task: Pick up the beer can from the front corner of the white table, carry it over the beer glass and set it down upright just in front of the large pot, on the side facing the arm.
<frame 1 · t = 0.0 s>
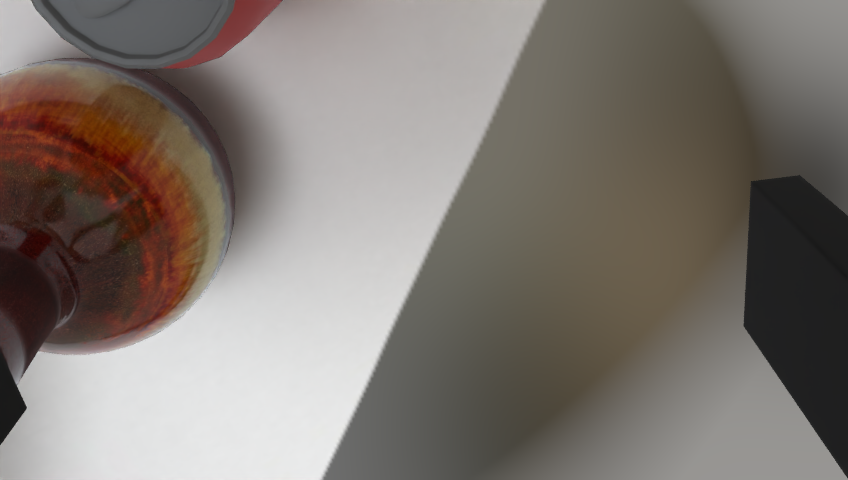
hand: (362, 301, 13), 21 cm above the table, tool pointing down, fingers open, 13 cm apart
vase: (129, 162, 34), on the table
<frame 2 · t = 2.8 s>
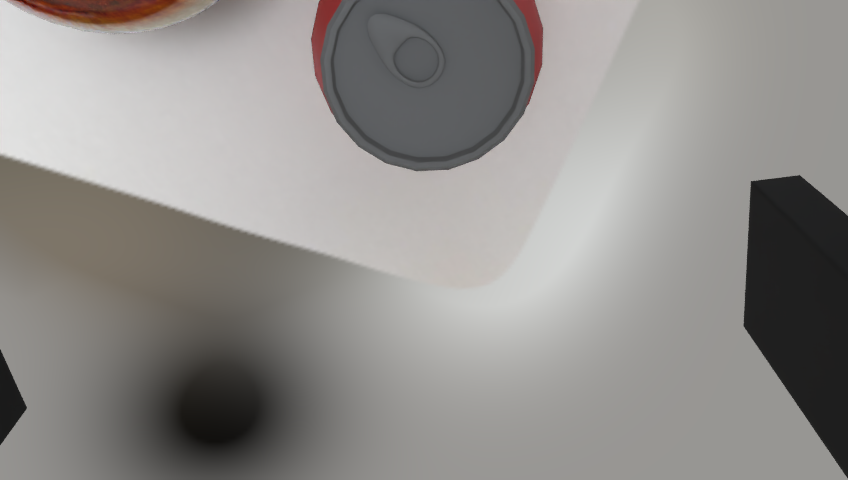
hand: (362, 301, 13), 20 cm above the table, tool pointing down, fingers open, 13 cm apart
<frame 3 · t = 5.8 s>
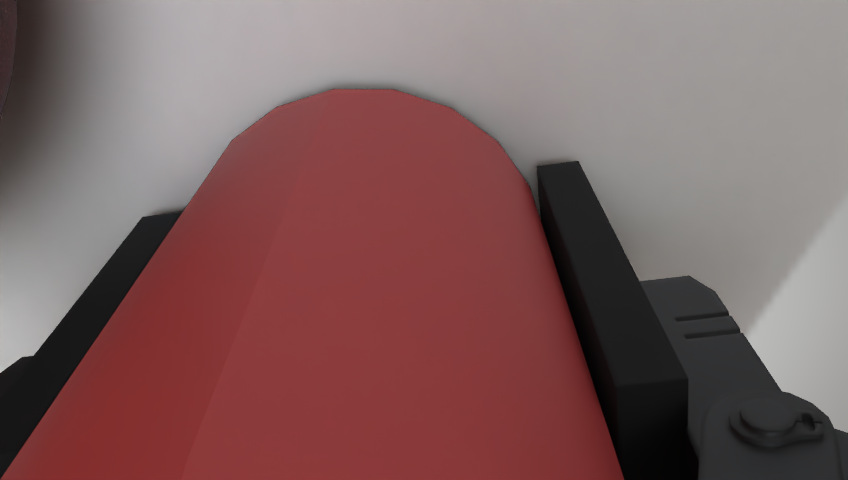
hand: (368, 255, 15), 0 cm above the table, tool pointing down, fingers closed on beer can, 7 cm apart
beer can: (371, 239, 15), on the table, touching gripper
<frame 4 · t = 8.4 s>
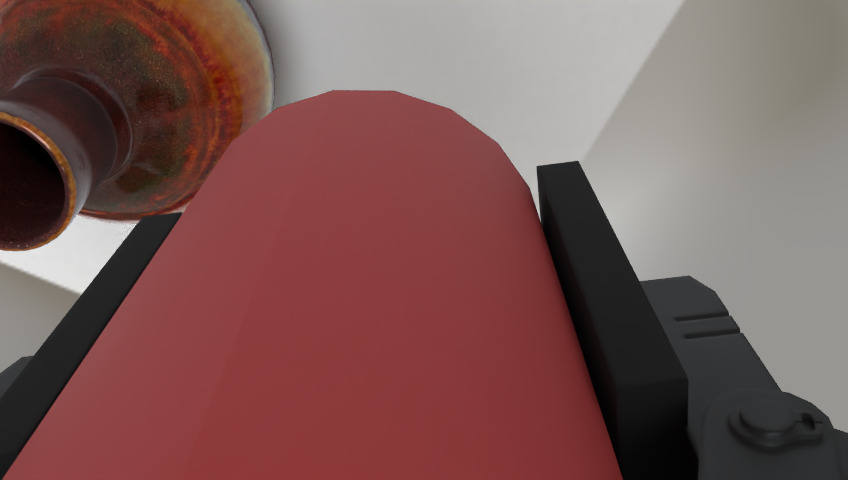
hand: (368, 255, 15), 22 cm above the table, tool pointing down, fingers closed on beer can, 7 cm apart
vase: (166, 53, 35), on the table
beer can: (371, 240, 15), point 21 cm above the table, touching gripper
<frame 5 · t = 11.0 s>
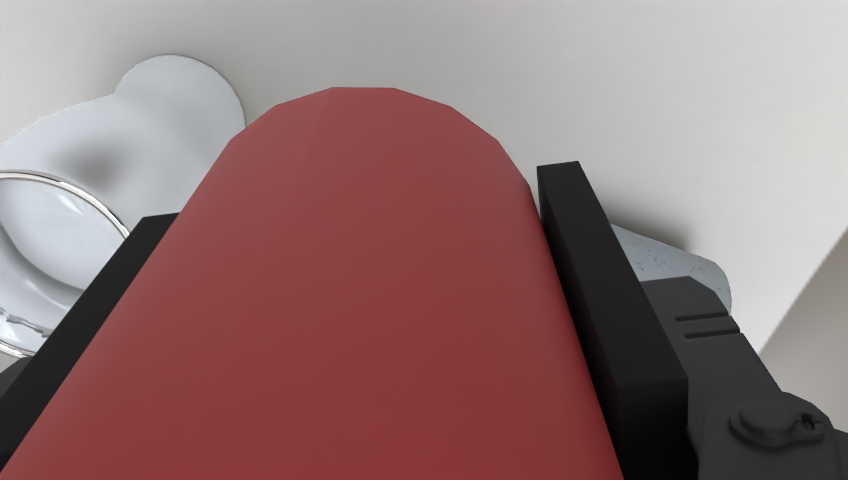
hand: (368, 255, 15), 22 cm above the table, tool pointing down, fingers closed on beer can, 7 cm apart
ceramic mug: (587, 291, 40), on the table
beer glass: (181, 118, 36), on the table
beer can: (370, 238, 15), point 21 cm above the table, touching gripper
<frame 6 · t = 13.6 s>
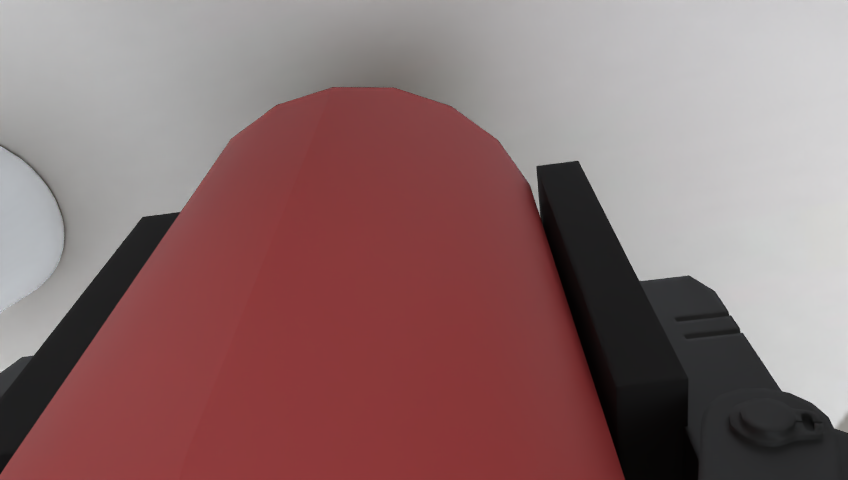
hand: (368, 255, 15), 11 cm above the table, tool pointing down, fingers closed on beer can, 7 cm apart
beer can: (370, 238, 15), point 10 cm above the table, touching gripper
when the fingers open (0 cm above the table, at t = 16.2 s): beer can stays where it is, on the table.
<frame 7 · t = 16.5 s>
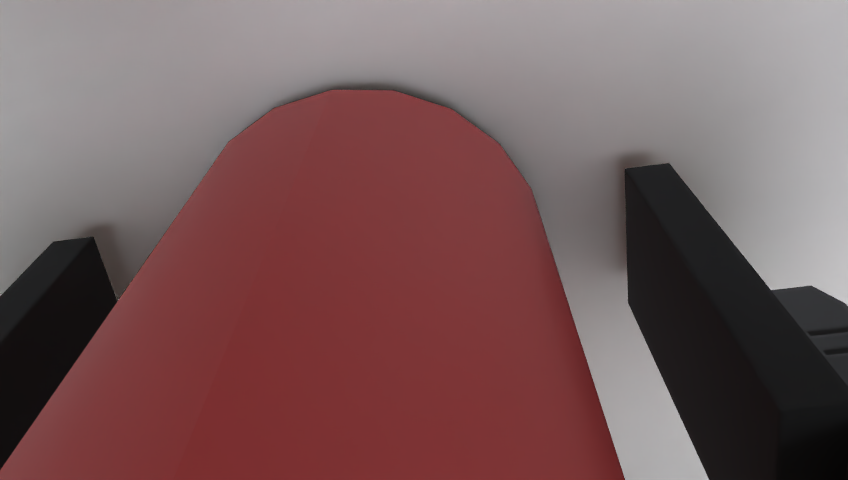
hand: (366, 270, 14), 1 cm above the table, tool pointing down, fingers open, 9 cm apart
beer can: (370, 242, 15), on the table
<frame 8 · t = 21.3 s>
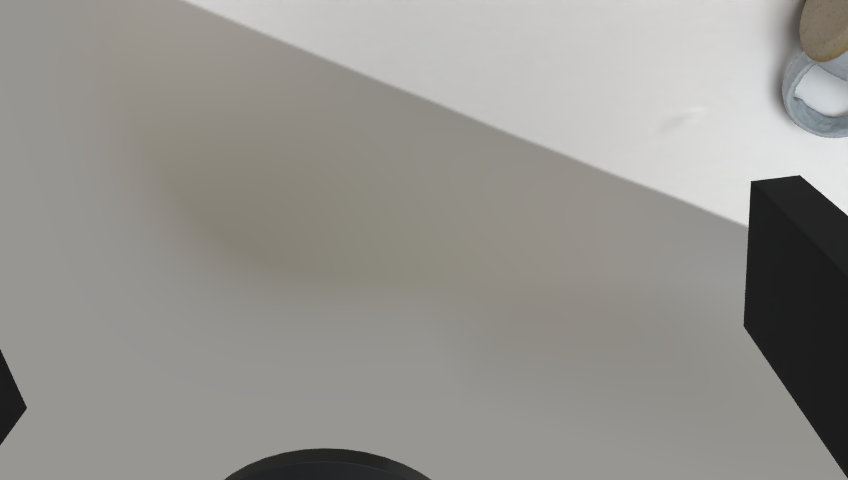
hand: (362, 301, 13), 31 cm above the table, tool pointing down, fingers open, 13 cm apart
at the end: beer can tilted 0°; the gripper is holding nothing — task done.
